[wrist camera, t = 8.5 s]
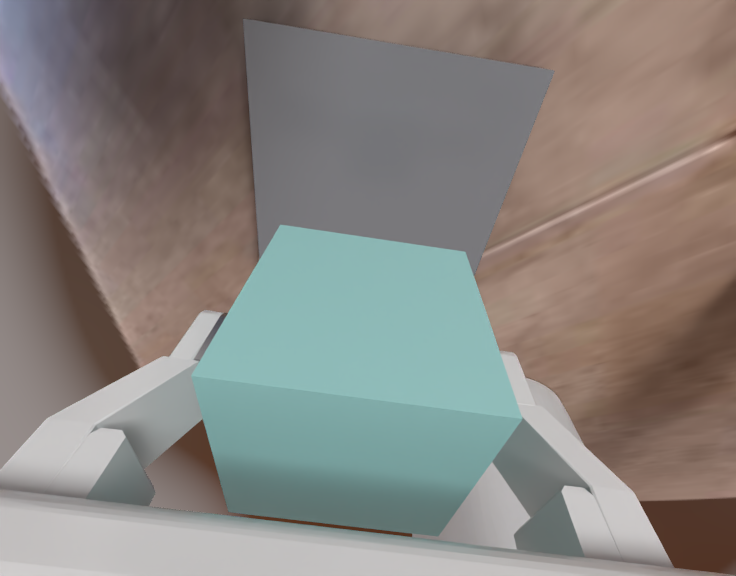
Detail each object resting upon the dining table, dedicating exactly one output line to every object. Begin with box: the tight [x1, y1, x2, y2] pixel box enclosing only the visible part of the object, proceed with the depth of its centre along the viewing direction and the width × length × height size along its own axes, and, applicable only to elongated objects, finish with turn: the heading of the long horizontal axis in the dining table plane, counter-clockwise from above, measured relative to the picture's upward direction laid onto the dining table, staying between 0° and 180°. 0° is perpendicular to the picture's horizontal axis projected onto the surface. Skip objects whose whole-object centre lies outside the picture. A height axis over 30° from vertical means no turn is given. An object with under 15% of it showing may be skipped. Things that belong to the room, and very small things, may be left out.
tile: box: [243, 19, 554, 275], centre depth 18 cm, size 13×13×1 cm
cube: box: [191, 225, 522, 536], centre depth 9 cm, size 5×5×5 cm
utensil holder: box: [412, 378, 584, 549], centre depth 24 cm, size 15×15×18 cm
